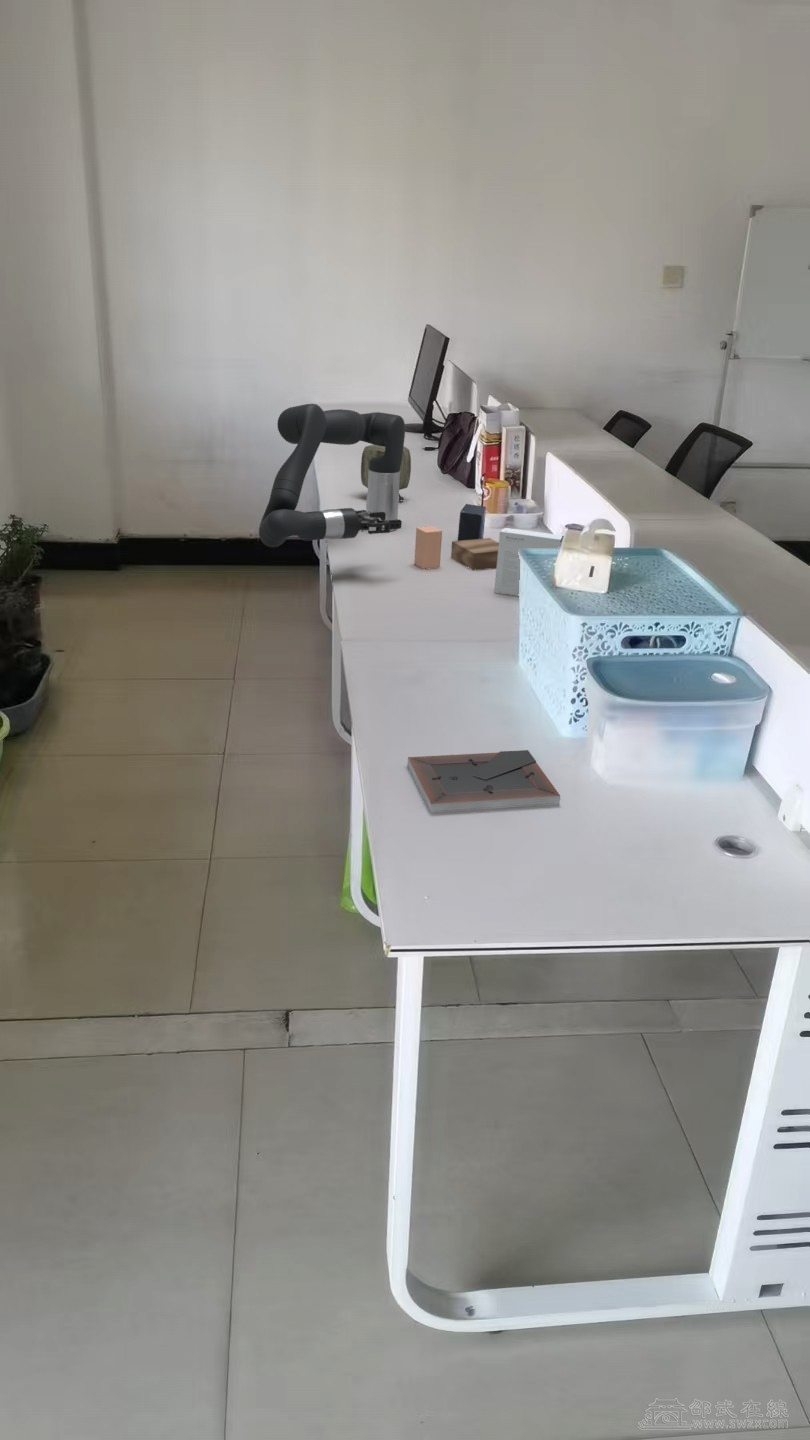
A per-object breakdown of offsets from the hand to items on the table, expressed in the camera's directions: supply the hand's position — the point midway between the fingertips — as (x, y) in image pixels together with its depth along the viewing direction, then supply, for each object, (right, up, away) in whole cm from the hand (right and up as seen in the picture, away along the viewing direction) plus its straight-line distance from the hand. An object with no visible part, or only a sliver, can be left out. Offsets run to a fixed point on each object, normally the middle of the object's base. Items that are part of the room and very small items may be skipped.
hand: (392, 519), depth 285 cm
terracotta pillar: (+9, -10, +11) cm, 18 cm away
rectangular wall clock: (+16, -63, -101) cm, 120 cm away
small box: (+22, -1, +33) cm, 40 cm away
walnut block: (+24, -9, +17) cm, 31 cm away
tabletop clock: (-4, +20, +75) cm, 78 cm away
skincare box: (+36, -21, -8) cm, 42 cm away
